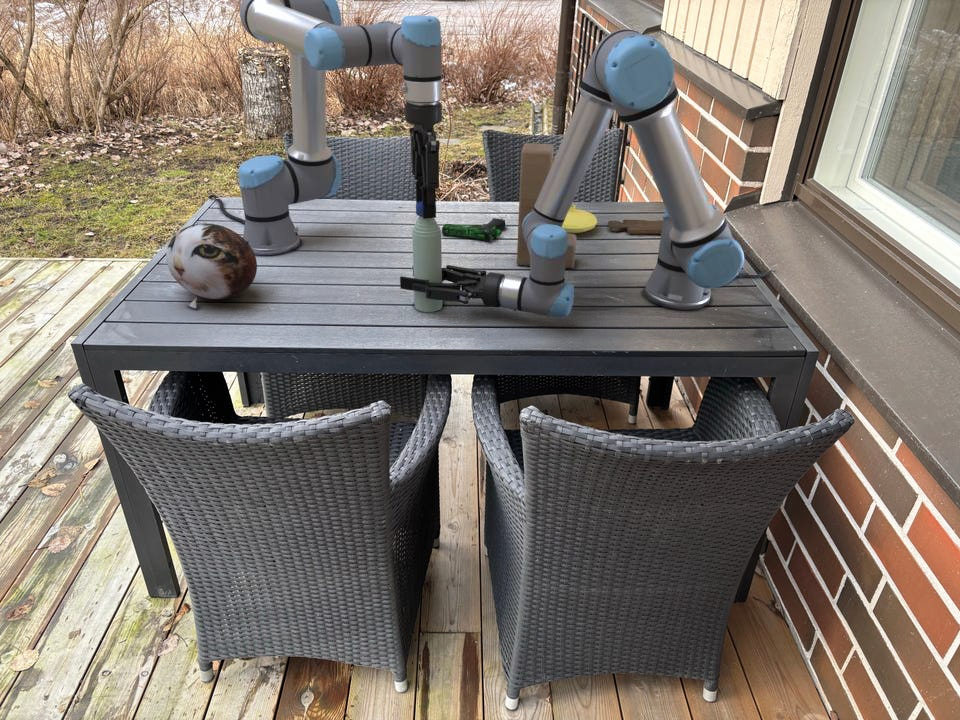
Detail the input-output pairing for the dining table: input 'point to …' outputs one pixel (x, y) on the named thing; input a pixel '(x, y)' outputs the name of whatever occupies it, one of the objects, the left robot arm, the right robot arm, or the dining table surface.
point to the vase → (578, 221)
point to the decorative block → (536, 195)
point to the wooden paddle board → (637, 226)
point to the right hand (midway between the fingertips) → (407, 276)
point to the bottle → (427, 260)
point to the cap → (419, 208)
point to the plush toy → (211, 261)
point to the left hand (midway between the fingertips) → (426, 213)
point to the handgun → (476, 230)
